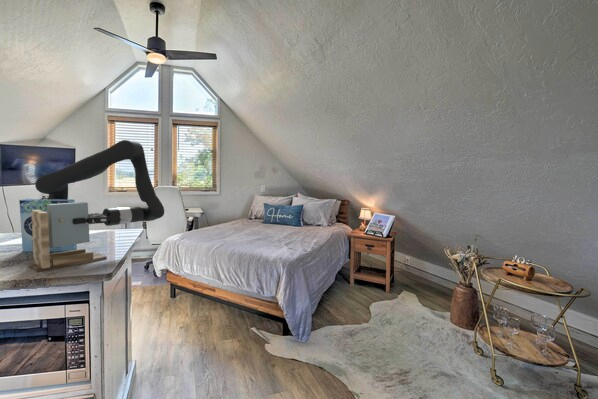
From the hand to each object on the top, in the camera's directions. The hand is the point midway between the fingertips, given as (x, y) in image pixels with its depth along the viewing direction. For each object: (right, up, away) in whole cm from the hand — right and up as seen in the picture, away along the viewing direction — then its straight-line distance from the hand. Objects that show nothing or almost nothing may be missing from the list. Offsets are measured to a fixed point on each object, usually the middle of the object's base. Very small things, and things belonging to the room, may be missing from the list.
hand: (71, 220), depth 118 cm
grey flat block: (-1, -9, 0) cm, 9 cm away
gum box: (-22, -15, +16) cm, 31 cm away
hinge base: (-1, -16, +1) cm, 16 cm away
